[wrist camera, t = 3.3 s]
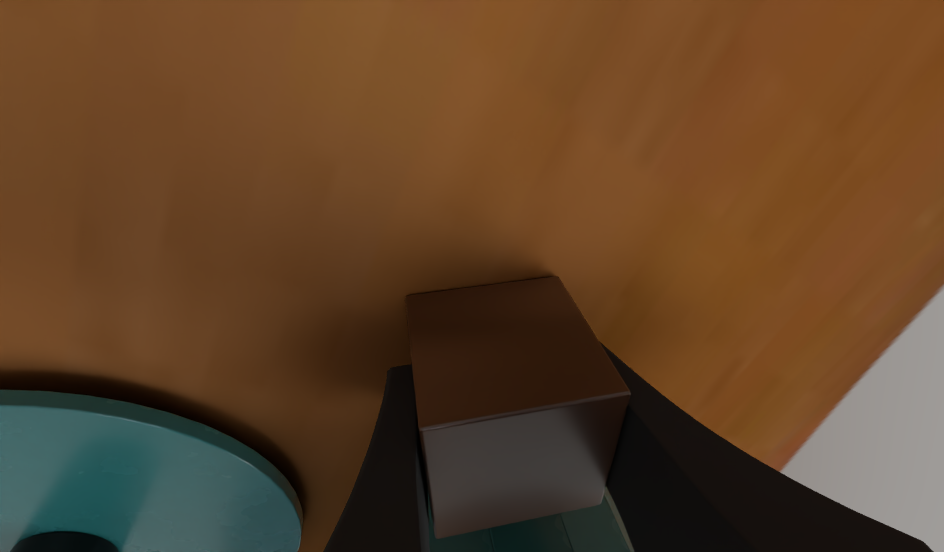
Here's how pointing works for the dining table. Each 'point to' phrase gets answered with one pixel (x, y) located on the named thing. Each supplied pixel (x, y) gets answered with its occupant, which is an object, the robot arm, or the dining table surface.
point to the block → (511, 404)
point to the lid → (133, 481)
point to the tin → (546, 533)
